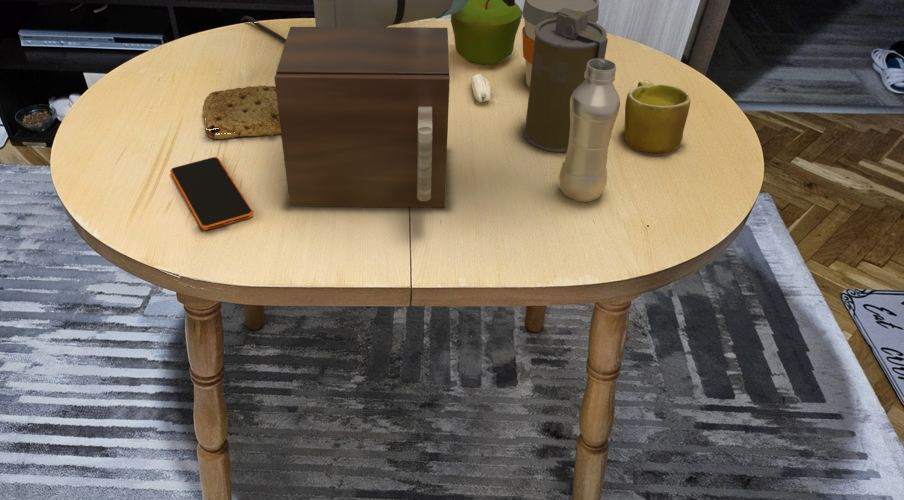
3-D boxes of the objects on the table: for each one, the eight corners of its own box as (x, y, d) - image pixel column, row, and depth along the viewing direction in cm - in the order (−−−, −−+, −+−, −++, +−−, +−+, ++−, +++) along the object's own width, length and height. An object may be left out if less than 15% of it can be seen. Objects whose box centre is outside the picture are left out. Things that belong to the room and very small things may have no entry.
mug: (700, 152, 121) (691, 88, 117) (630, 167, 124) (619, 105, 120) (689, 126, 132) (680, 67, 127) (625, 140, 134) (614, 82, 130)
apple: (508, 42, 155) (513, -17, 148) (524, 70, 146) (530, 9, 139) (444, 46, 154) (446, -13, 147) (456, 74, 145) (459, 13, 138)
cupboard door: (445, 237, 108) (450, 105, 96) (282, 235, 109) (265, 103, 96) (444, 203, 114) (449, 75, 102) (290, 201, 115) (275, 73, 102)
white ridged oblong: (475, 106, 136) (475, 91, 134) (469, 84, 142) (469, 70, 140) (493, 106, 136) (494, 91, 134) (486, 84, 142) (487, 69, 140)
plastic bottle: (593, 212, 113) (618, 80, 100) (549, 198, 116) (567, 68, 103) (610, 190, 117) (636, 61, 104) (567, 176, 120) (586, 49, 107)
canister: (510, 136, 129) (521, 14, 116) (548, 112, 134) (563, -7, 121) (567, 161, 123) (586, 35, 110) (604, 135, 129) (626, 13, 116)
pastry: (174, 124, 132) (170, 107, 130) (246, 83, 143) (243, 67, 141) (253, 155, 125) (250, 138, 123) (323, 109, 135) (321, 93, 133)
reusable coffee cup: (579, 66, 147) (592, -16, 138) (594, 99, 138) (608, 13, 128) (511, 67, 147) (518, -15, 137) (521, 100, 138) (529, 14, 128)
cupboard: (444, 203, 115) (449, 73, 102) (290, 201, 115) (275, 71, 102) (443, 151, 125) (447, 27, 112) (302, 150, 126) (290, 26, 113)
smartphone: (203, 232, 109) (202, 227, 109) (169, 173, 121) (168, 168, 120) (256, 216, 112) (255, 211, 111) (218, 160, 123) (217, 155, 123)
